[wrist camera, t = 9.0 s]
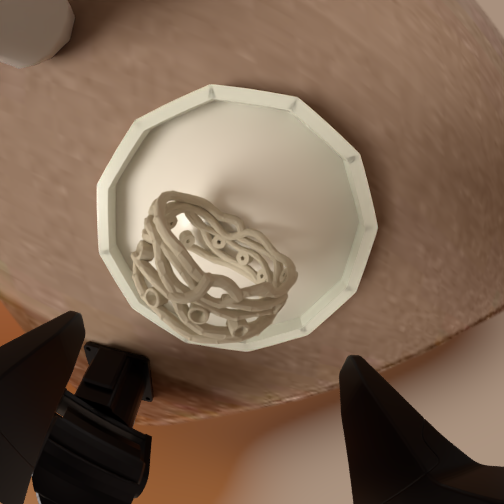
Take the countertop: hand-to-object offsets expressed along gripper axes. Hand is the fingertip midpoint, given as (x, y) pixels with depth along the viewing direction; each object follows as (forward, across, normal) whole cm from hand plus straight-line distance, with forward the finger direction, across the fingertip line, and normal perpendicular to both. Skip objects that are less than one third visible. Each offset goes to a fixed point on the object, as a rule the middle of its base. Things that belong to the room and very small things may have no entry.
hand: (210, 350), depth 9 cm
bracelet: (+10, +1, 0) cm, 11 cm away
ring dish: (+11, 0, 0) cm, 11 cm away
